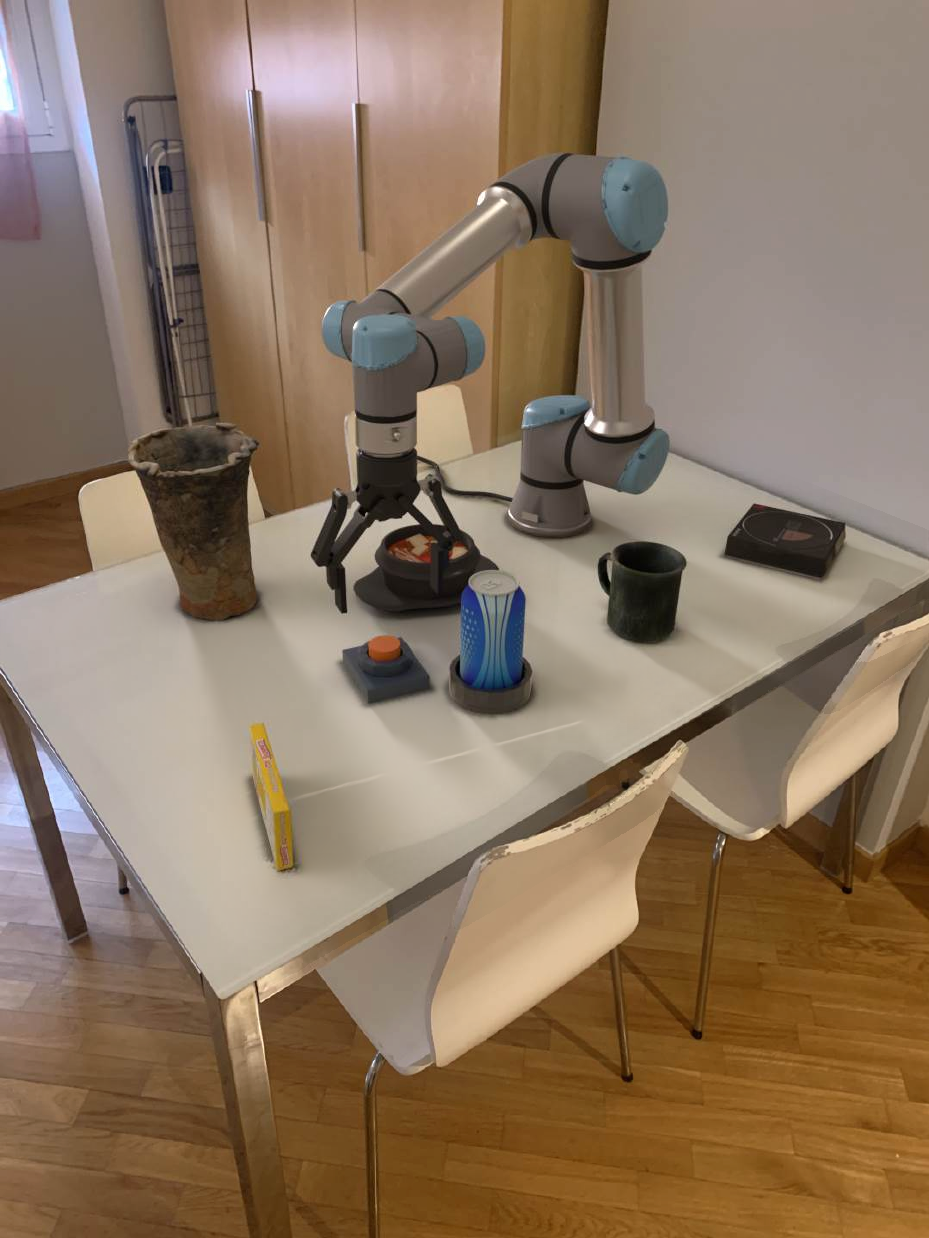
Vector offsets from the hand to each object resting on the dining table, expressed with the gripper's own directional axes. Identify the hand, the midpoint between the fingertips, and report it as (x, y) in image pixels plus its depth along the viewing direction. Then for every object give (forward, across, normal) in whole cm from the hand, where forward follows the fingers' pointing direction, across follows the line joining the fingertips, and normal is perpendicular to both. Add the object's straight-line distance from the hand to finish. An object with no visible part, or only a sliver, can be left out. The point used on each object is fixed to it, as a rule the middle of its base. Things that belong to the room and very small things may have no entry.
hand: (389, 599), depth 130 cm
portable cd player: (+12, +78, +10) cm, 80 cm away
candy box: (+13, -23, -22) cm, 34 cm away
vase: (+13, -18, +31) cm, 38 cm away
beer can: (+12, +11, -8) cm, 18 cm away
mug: (+12, +39, -1) cm, 41 cm away
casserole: (+13, +15, +22) cm, 29 cm away
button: (+9, -1, +1) cm, 9 cm away
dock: (+13, +11, -8) cm, 19 cm away
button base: (+13, -1, +1) cm, 13 cm away
